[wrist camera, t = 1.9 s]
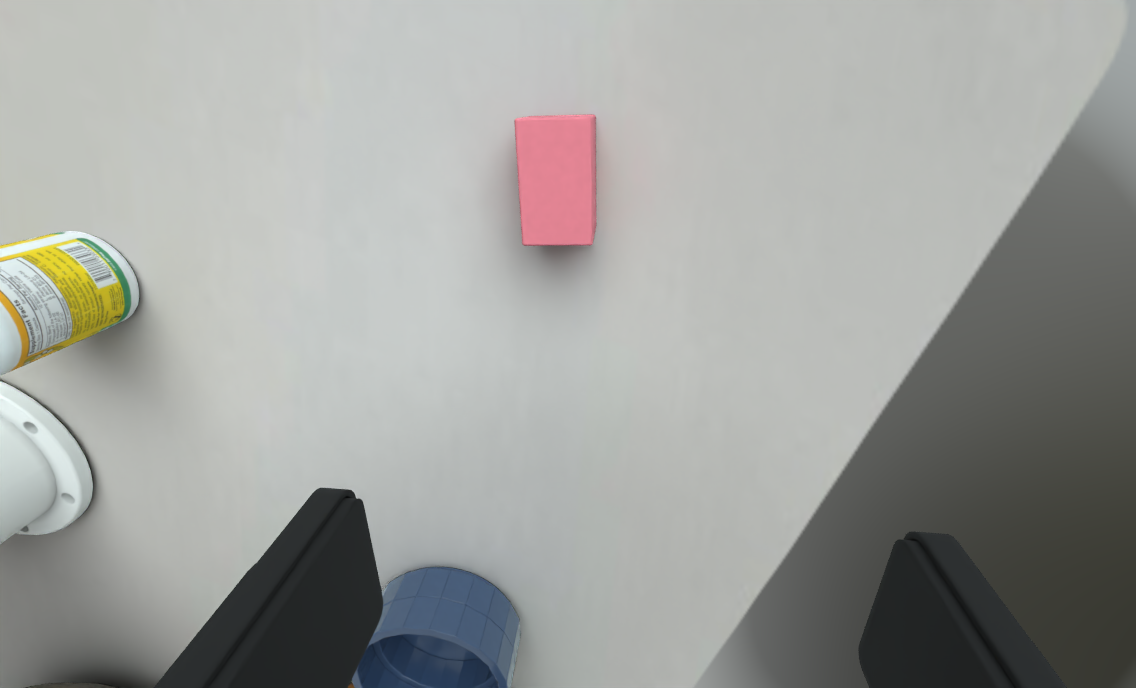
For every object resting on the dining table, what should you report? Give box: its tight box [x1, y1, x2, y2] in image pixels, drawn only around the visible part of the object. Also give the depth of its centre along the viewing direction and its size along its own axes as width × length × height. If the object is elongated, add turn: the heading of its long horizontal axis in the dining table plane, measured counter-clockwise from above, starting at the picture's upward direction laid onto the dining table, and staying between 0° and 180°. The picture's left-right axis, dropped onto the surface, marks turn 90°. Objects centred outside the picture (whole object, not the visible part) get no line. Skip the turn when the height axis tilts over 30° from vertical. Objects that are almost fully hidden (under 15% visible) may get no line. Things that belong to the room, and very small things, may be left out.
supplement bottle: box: [0, 231, 139, 375], centre depth 25 cm, size 5×5×10 cm
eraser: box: [515, 115, 596, 246], centre depth 23 cm, size 5×3×4 cm, turn 2°
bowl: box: [352, 567, 521, 688], centre depth 35 cm, size 10×10×5 cm
